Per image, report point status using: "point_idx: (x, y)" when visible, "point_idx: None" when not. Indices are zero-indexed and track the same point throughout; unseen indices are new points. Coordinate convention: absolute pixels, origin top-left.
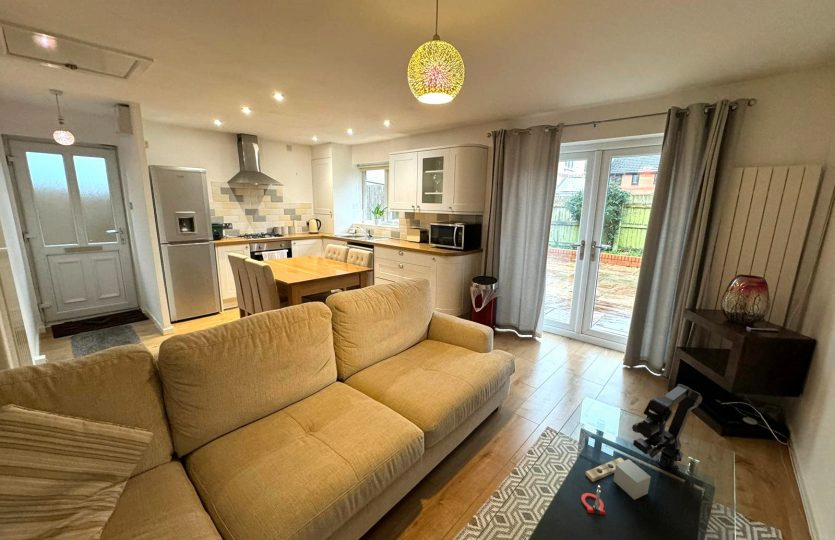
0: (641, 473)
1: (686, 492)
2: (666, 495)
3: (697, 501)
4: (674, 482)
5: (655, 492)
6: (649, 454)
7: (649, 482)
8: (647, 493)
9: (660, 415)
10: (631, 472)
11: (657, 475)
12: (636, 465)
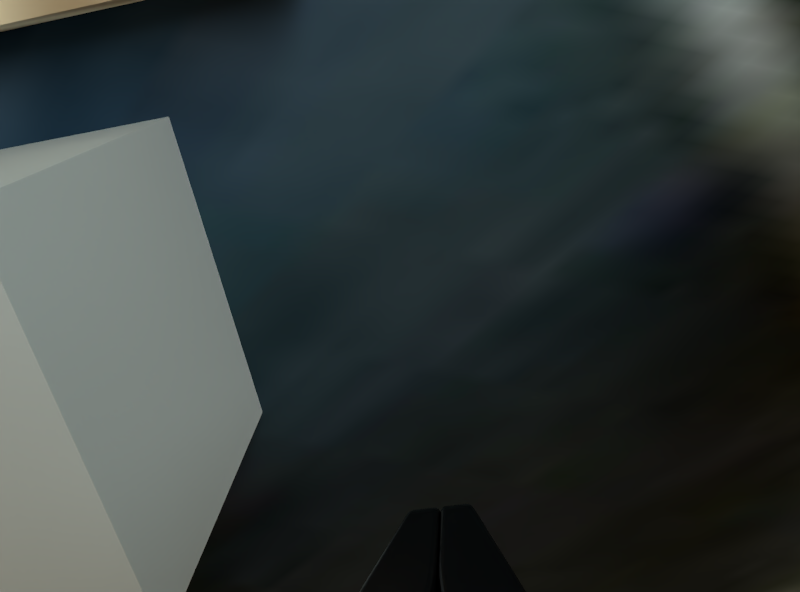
0: (32, 562)
1: (743, 491)
2: (465, 473)
3: (734, 585)
4: (759, 360)
5: (369, 420)
6: (382, 568)
7: (202, 541)
8: (259, 411)
9: None
10: None
11: (645, 220)
12: (48, 400)
